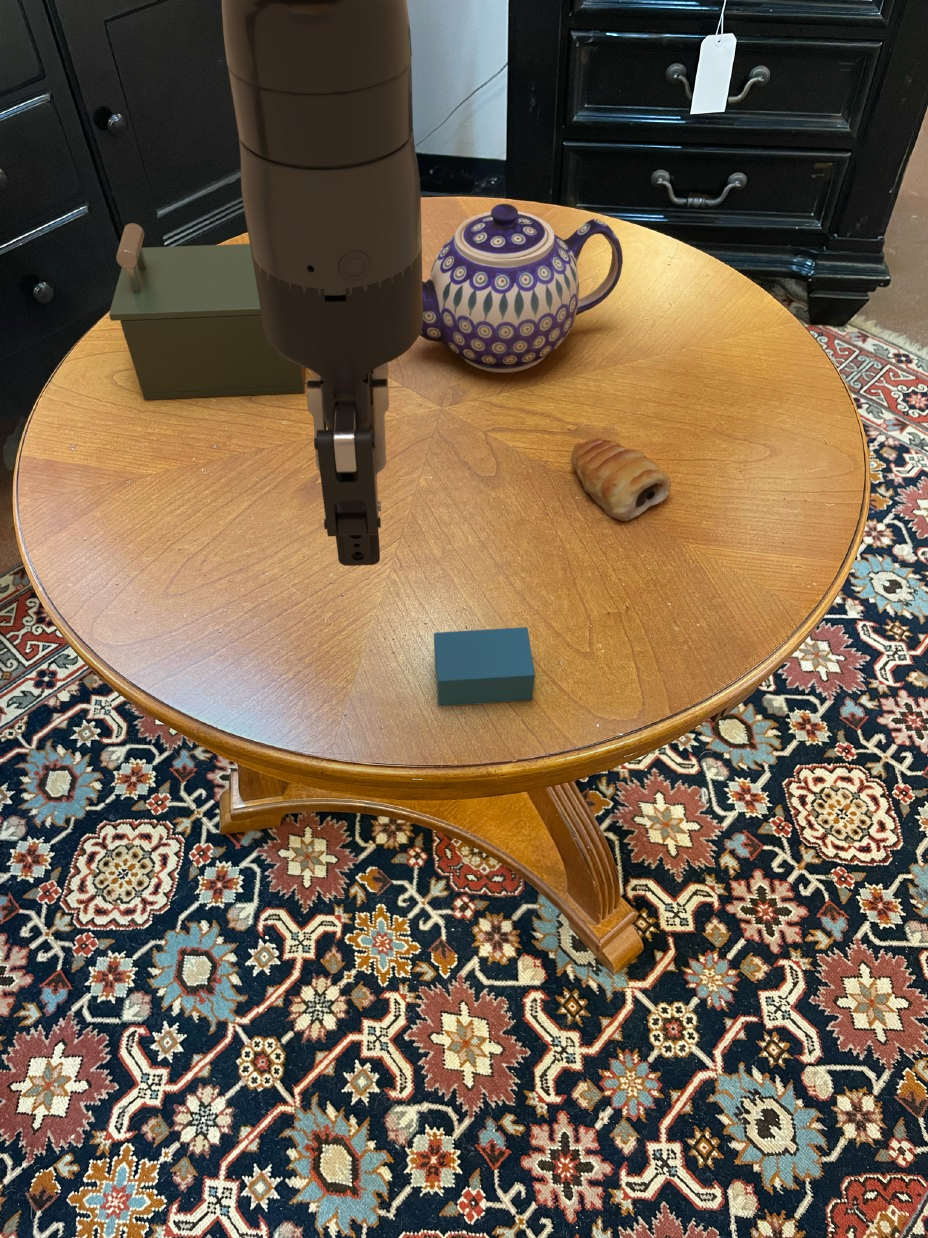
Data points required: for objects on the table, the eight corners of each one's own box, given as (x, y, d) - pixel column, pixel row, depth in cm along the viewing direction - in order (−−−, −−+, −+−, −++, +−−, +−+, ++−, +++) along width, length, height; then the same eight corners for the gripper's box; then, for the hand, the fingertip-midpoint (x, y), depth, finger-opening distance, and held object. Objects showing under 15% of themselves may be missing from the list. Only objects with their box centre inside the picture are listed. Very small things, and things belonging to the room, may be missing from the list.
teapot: (592, 292, 106) (608, 157, 95) (637, 370, 97) (662, 231, 86) (370, 319, 103) (359, 182, 91) (396, 403, 93) (387, 263, 82)
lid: (110, 321, 87) (95, 271, 83) (128, 254, 94) (115, 205, 90) (292, 313, 87) (285, 264, 84) (296, 248, 95) (289, 199, 91)
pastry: (551, 471, 87) (554, 437, 84) (606, 443, 90) (611, 410, 87) (621, 529, 82) (627, 496, 79) (677, 498, 85) (685, 465, 82)
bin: (144, 400, 93) (119, 321, 87) (158, 332, 101) (137, 254, 94) (304, 393, 94) (292, 314, 88) (307, 326, 102) (296, 248, 95)
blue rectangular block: (438, 706, 70) (437, 681, 68) (434, 658, 73) (433, 632, 71) (532, 700, 71) (535, 675, 68) (525, 652, 74) (527, 626, 71)
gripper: (261, 162, 46) (300, 428, 59) (234, 330, 37) (286, 603, 50) (416, 160, 47) (422, 425, 59) (427, 326, 38) (431, 598, 50)
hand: (360, 506), depth 54 cm, fingers open, 8 cm apart
